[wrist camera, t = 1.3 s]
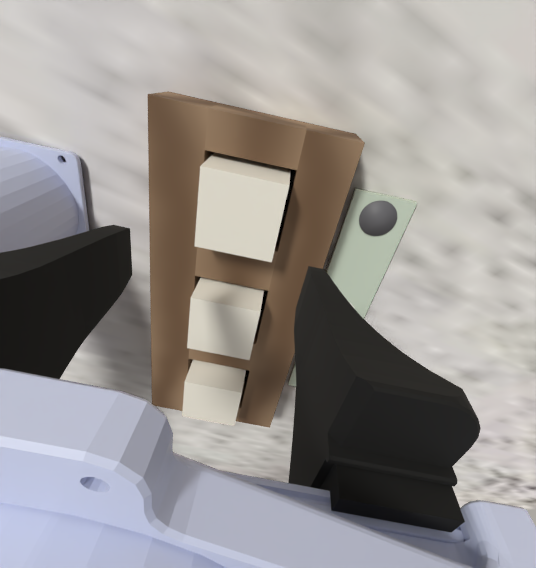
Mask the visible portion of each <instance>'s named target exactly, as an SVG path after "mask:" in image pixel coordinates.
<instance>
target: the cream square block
mask: <svg viewBox="0 0 536 568" xmlns="http://www.w3.org/2000/svg"><path fill="white" fill-rule="evenodd" d="M245 373H246V370H243V369H238V368H233V367H228V366H223V365H218V364H213V363H208V362H202V361H197V360H193V361H192V363H191V366H190V369H189V371H188V374H187V377H186V379H185V383H184V397H183V411H182V416H183V417H188V418H193V419H199V420H204V421H209V422H215V423H220V424H225V425H230V426H234V425H235V421H236V417H237V412H238V408H239V404H240V399H241V395H242V390H243V384H244V379H245Z"/></svg>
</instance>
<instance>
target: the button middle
mask: <svg viewBox="0 0 536 568" xmlns="http://www.w3.org/2000/svg"><path fill="white" fill-rule="evenodd" d="M263 293H264V290H262V289H257V288H252V287H247V286H242V285H238V284H233V283H228V282H223V281H218V280H213V279H208V278H203V277H201V278H200V280H199V282H198V284H197V286H196V288H195V290H194V292H193V294H192V296H191V300H190V314H189V328H188V342H187V348H189V349H195V350H200V351H205V352H210V353H215V354H220V355H225V356H230V357H235V358H240V359H245V360H250V356H251V351H252V347H253V342H254V338H255V334H256V329H257V325H258V321H259V316H260V312H261V306H262V300H263Z"/></svg>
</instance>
